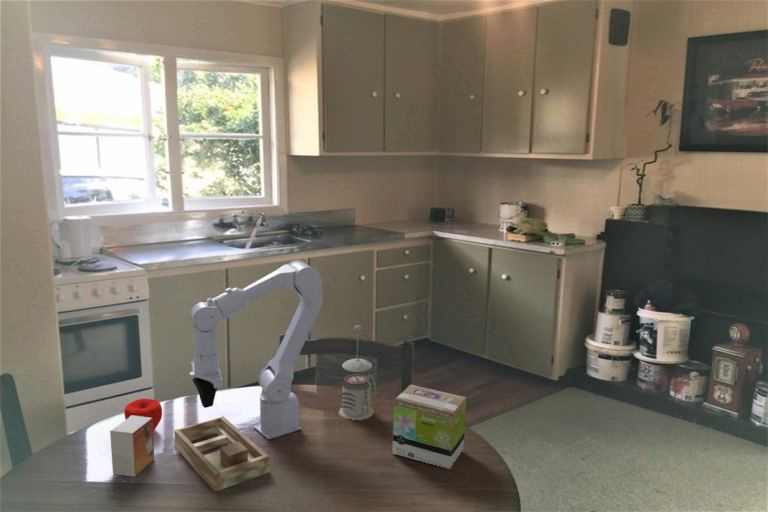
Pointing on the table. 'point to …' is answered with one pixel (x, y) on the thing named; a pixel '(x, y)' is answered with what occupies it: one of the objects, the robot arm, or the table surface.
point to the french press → (360, 405)
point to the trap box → (204, 453)
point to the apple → (145, 410)
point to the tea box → (429, 425)
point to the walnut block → (233, 454)
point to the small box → (132, 445)
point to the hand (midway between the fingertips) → (207, 406)
